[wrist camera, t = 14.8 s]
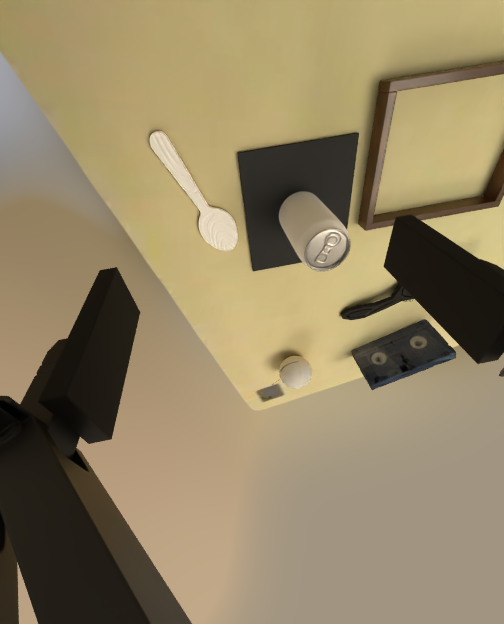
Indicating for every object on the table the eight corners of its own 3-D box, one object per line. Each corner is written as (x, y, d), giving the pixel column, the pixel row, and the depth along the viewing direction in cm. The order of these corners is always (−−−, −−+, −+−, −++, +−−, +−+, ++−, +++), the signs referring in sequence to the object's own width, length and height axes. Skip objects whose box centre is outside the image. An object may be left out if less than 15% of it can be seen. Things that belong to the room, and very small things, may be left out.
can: (327, 198, 41) (365, 234, 32) (307, 237, 45) (335, 279, 36) (289, 183, 39) (318, 217, 30) (271, 226, 42) (291, 267, 33)
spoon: (171, 119, 32) (171, 119, 32) (246, 240, 44) (246, 241, 43) (135, 145, 33) (134, 146, 33) (217, 256, 45) (217, 258, 44)
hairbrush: (341, 311, 53) (480, 256, 48) (335, 298, 56) (466, 246, 51) (349, 336, 59) (475, 289, 54) (343, 323, 62) (462, 278, 56)
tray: (379, 80, 33) (390, 81, 31) (552, 53, 34) (573, 52, 32) (358, 224, 45) (365, 230, 43) (486, 200, 46) (498, 206, 44)
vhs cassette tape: (352, 356, 69) (371, 391, 61) (350, 349, 67) (369, 384, 59) (426, 326, 65) (456, 359, 58) (426, 318, 64) (457, 351, 56)
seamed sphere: (301, 344, 63) (311, 370, 57) (309, 362, 67) (319, 387, 62) (261, 360, 64) (267, 387, 59) (271, 376, 69) (278, 402, 63)
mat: (237, 152, 36) (237, 153, 35) (357, 132, 36) (359, 133, 36) (252, 269, 48) (253, 271, 47) (342, 253, 48) (344, 254, 48)
